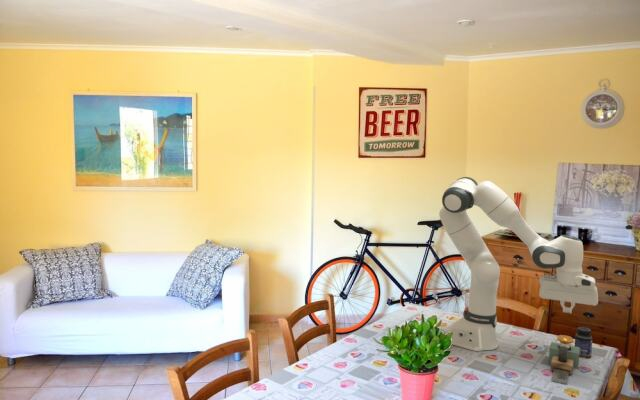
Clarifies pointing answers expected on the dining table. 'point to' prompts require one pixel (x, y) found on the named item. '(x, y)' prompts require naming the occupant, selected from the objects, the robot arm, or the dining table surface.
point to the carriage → (562, 360)
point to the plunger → (565, 341)
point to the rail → (560, 375)
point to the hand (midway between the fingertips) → (567, 312)
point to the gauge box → (572, 354)
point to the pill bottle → (584, 342)
